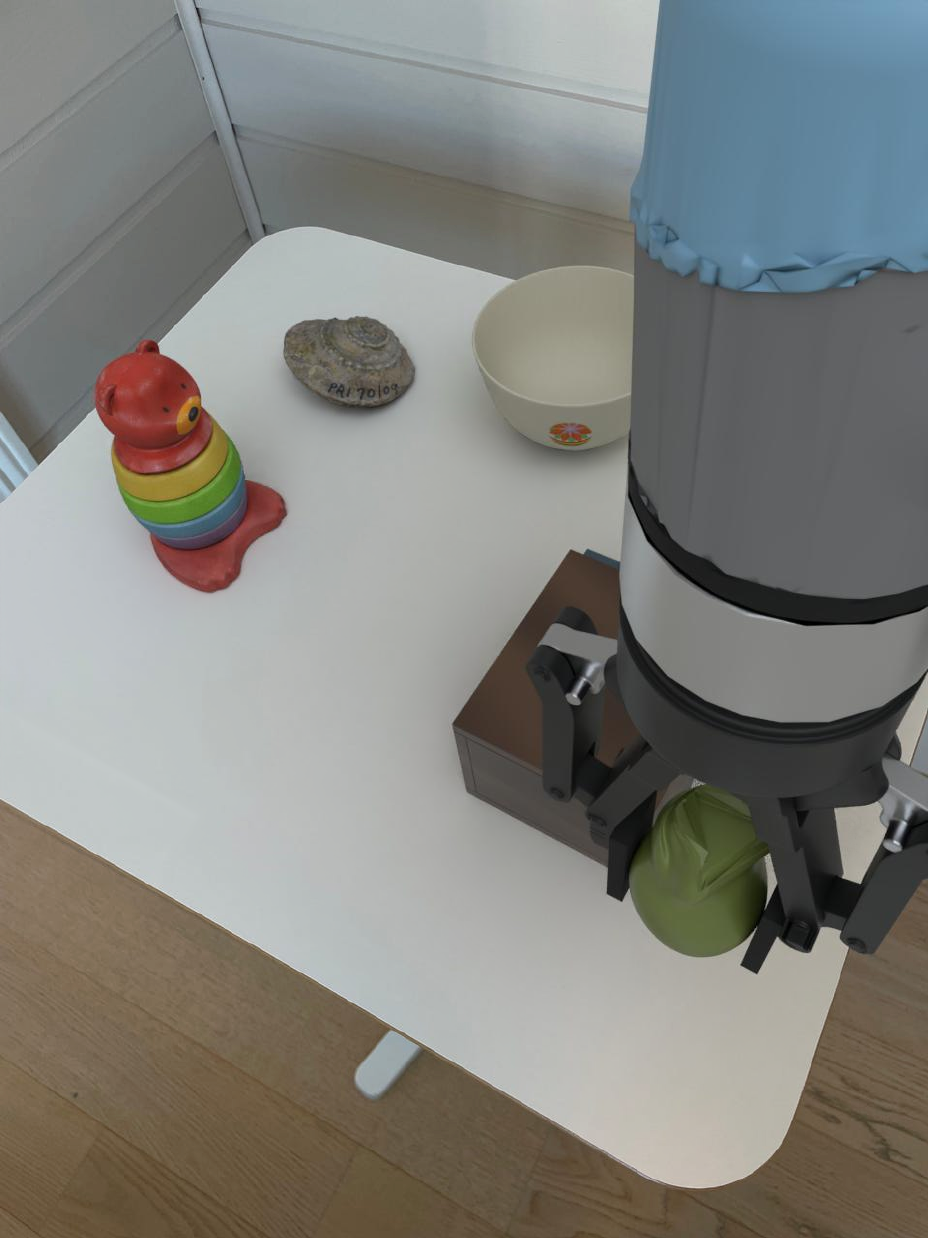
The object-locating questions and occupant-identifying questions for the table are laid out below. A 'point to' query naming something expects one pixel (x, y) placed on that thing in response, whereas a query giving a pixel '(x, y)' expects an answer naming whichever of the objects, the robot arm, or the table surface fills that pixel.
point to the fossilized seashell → (348, 360)
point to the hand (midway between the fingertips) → (693, 905)
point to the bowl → (561, 355)
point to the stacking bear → (181, 470)
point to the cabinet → (512, 714)
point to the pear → (701, 873)
